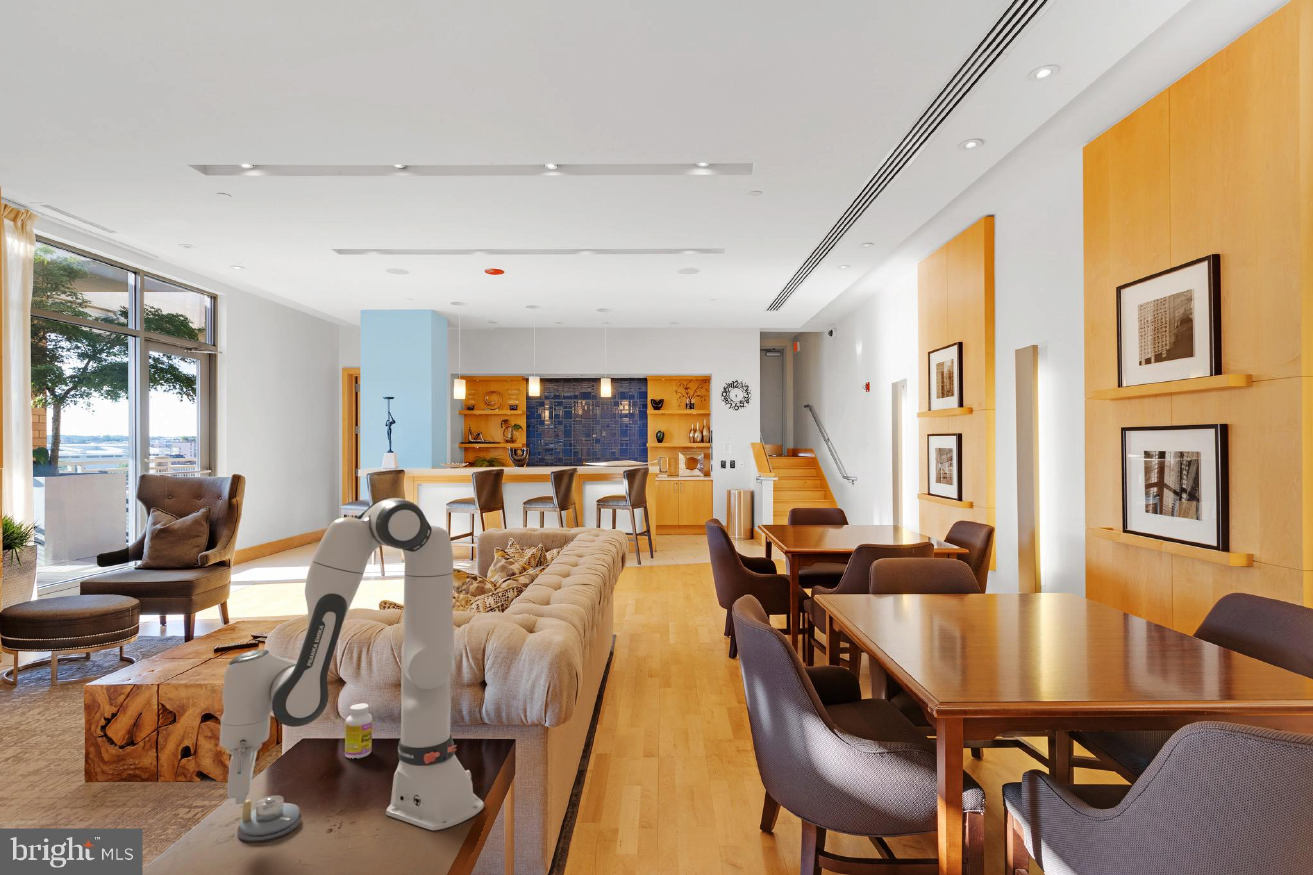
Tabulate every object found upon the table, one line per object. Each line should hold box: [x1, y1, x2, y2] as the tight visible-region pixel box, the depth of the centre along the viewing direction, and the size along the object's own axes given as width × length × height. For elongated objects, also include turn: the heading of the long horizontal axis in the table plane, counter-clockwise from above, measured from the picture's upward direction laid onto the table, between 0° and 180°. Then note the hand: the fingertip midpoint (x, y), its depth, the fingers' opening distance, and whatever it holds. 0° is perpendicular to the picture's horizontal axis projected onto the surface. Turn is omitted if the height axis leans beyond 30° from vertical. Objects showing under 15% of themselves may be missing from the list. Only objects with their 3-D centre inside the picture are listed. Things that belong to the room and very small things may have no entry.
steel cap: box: [255, 795, 285, 823], centre depth 148 cm, size 5×5×4 cm
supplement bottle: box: [344, 702, 373, 760], centre depth 186 cm, size 7×7×13 cm
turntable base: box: [237, 812, 302, 844], centre depth 148 cm, size 12×12×1 cm
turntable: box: [239, 799, 300, 835], centre depth 148 cm, size 11×11×5 cm
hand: (241, 800), depth 141 cm, fingers closed
